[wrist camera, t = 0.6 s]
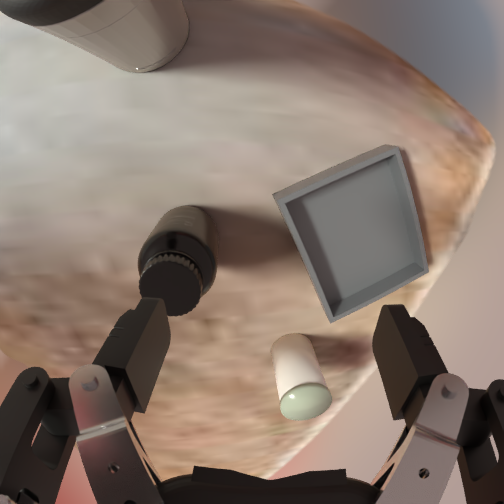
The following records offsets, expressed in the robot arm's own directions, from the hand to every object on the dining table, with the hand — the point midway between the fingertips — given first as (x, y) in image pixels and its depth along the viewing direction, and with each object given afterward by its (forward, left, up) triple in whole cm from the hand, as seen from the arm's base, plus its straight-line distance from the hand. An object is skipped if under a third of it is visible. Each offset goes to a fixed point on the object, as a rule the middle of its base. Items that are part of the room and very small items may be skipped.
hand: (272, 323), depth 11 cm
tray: (+9, +10, -22) cm, 26 cm away
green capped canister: (+21, -3, -22) cm, 31 cm away
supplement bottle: (+1, -7, -23) cm, 24 cm away
